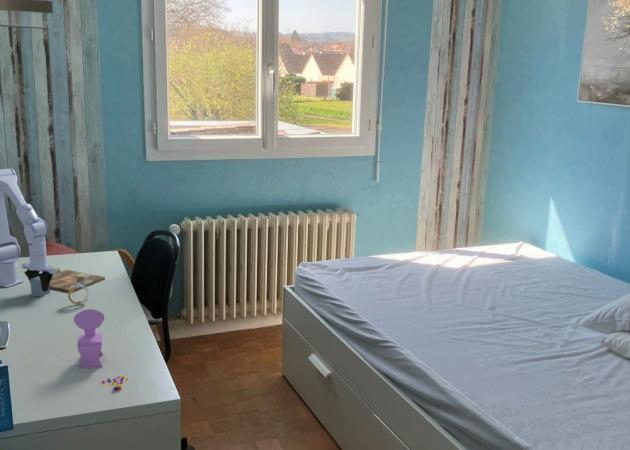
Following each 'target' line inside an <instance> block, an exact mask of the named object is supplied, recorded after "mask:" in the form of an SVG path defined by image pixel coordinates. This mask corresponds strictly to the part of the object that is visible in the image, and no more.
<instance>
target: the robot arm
mask: <svg viewBox="0 0 630 450" xmlns="http://www.w3.org/2000/svg"><path fill="white" fill-rule="evenodd" d="M5 193H6V195H7V197H8V198H9V199H10V201H11V202H12V203H13V204H14V206H15V207H16V210H15V213H16V215H17V217H18V219H19V220H20V222H21V224H22V225H23V227H24V228H23V234H24V236H25V238H26V242H27V245H28V252H29V253H28V254H29V256H28V257H29V262H23V263H21V269H22V270H25V269H26V270H25V271H24V275H25V276H26V278H28V281H29V283H30V284H31V280H30V279H32V278H35V277H38V276H39V278H40V280H41V284H42V290H43V292H45V291H47V290H48V289H49V284H50V281H51V278H52V276H53V274H54V273H56V268H57V267H55V266H51V265H50V264H48V258H47V245H46V243H47V242H46V236H47V235H48V234H49V233H48V232H49V227H48V223H47V222H46V221H45V220H44V219H42V218H41V217H39V215H38V214H37V213H36V211H35V209H34V208H33V206H32V204H30V203H27V202H26V200H25V198H24V196H23V195H22V194H23V193H22V192H21V190H20V188H19V186H18V176H17V173H16V172H15V170H14V169H13V168H11V167H8V168H4V169H0V287H4V288H8V287H12V286H14V285H17V284H20V283H23V282H24V280H23V279H18V270H17V269H18V268H17V261H18V260H19V259H18V258H19V256H20V255H21V247H20V245H19V243H18V239H17V238H16V237H15V236H12V235H11V231H10V226H9V220H8V215H7V208H6V203H5V197H4V194H5ZM40 272H41V273H40Z"/></svg>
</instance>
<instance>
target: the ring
mask: <svg viewBox="0 0 630 450" xmlns="http://www.w3.org/2000/svg"><path fill="white" fill-rule="evenodd" d="M83 284H84V283H83ZM83 284H82V283H81V284H80V282H79V283H77V282H76V284H74V285H73V286H71V287H70V289H69V291H68V292H67V297H68V300H69V302H71V303H72V304H74V305H78V306H81V305H82V304H84V303H87V301H88V299H89V297H90V292H89V288H88V286H87V287H85V286H84V285H83ZM78 287H82V288H83V289H84V290H85V291H86V296H85V298H84V299H83V300H81V301H80V300H79V301H74V300H73V299H72V298H71V294H72V293H71V292H72V291H73V290H75V289H76V288H78Z"/></svg>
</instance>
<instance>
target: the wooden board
mask: <svg viewBox="0 0 630 450" xmlns="http://www.w3.org/2000/svg"><path fill="white" fill-rule="evenodd" d="M55 268H56V273H54V274H53V276H52V278H51V281H50V284H49V287H50V290H56V291H61V292H65V293H68V291H69V289H70V287H71V286H73V285H74V284H76V282H77V283H79V282H80V284H81V283H82V284H83V283H84V284H83V285H84V286H85V287H87V288H88V287H89V286H92V285H94V284H95V285H96V284H97V283H100V282H103V281H104V280H106V276H101V275H96V274H92V273H86V272H82V271H81V272H80V271H75V270H70V269H69V270H68V269H64V270H61V268H58V267H55ZM82 289H84V288H82V287H78V288H76V289H75V290H73V291H72V292H71V294H72V293H75V292H78V291H79V290H82Z"/></svg>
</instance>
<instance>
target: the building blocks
mask: <svg viewBox="0 0 630 450" xmlns="http://www.w3.org/2000/svg"><path fill="white" fill-rule="evenodd" d="M127 380H128V377H126V376H125V375H122V376H120V375H118V376H116V378H113V377H111V378H110V377H109V376H108V377H107V381H105V380H101V381H102V382H101V383H102V384H103V383H104V384H103V385H104V386H106V387H107V386H110V385H113V389H114V391H120V390H122V384H123V383H124V382H127ZM106 382H108V383H109V384H106Z"/></svg>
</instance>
